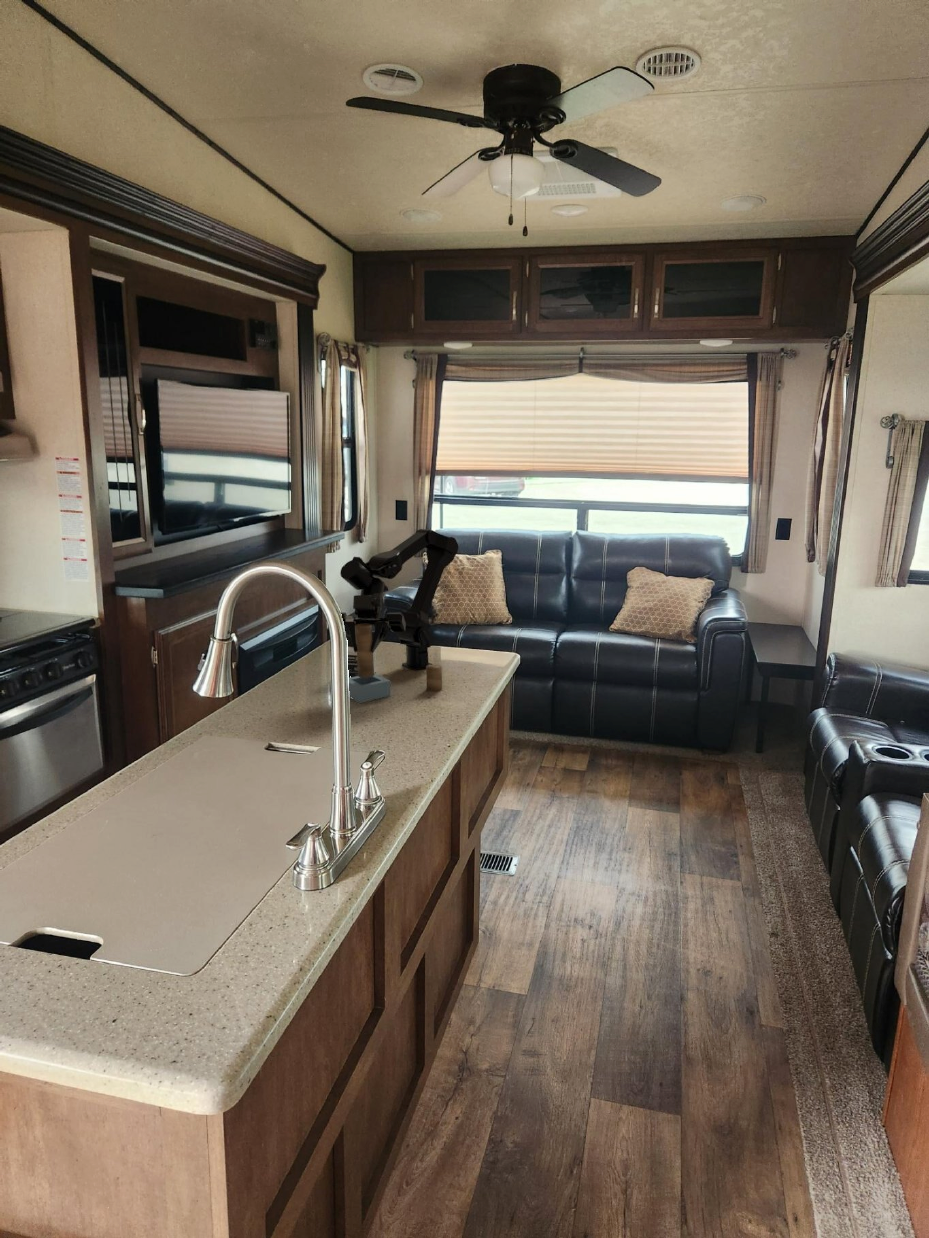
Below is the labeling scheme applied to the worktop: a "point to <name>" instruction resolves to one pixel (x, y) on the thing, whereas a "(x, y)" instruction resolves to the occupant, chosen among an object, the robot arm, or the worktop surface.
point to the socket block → (369, 688)
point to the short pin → (434, 677)
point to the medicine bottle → (355, 659)
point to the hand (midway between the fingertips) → (363, 651)
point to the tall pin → (364, 650)
